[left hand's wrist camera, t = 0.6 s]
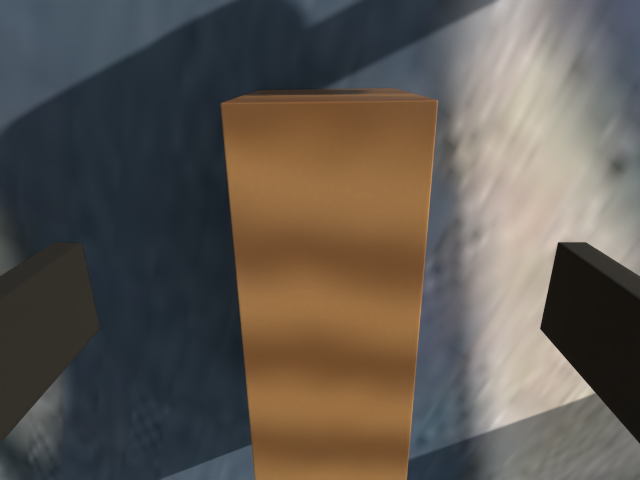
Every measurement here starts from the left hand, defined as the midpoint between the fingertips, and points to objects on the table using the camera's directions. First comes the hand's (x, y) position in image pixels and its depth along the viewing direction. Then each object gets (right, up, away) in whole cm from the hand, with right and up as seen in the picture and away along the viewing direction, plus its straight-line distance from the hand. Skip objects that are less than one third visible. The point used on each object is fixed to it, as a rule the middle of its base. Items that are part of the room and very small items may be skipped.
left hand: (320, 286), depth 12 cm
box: (0, 0, +19) cm, 19 cm away
